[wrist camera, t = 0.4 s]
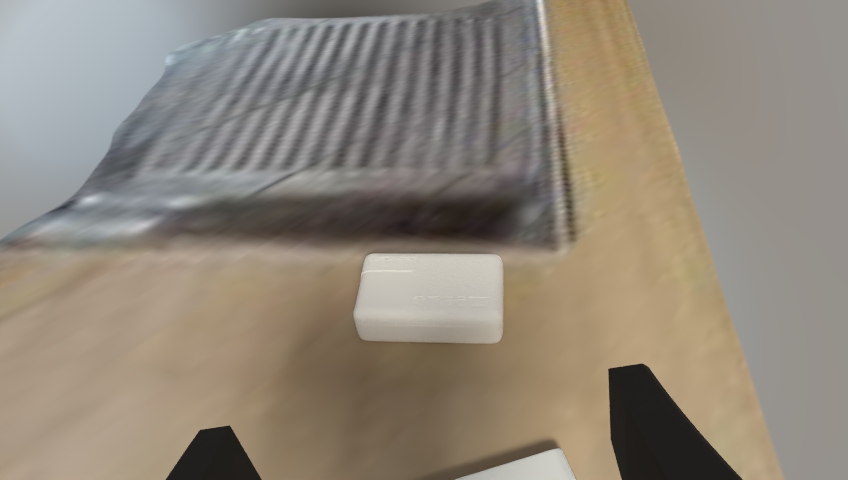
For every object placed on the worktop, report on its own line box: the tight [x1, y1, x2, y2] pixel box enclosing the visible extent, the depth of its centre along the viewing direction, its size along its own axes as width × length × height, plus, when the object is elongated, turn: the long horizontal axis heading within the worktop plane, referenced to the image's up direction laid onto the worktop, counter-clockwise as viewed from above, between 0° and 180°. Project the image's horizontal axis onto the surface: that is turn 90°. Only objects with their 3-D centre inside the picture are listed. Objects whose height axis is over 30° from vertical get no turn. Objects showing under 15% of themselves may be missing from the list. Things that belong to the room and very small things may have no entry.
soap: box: [353, 253, 503, 344], centre depth 39 cm, size 9×6×3 cm, turn 85°
